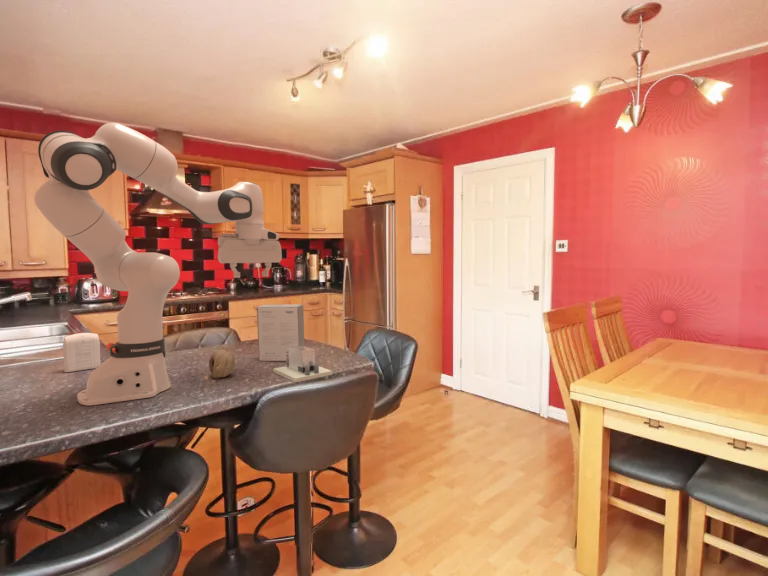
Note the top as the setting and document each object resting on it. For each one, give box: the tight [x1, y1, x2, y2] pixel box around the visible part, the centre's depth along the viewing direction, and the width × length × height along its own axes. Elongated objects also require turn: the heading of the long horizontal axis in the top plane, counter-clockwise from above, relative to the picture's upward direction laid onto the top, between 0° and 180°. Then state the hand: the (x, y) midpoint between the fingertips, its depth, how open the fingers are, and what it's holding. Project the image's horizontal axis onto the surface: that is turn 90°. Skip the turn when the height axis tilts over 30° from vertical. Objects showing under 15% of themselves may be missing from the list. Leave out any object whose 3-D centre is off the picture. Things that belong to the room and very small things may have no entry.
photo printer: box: [62, 332, 102, 373], centre depth 145 cm, size 10×4×12 cm, turn 135°
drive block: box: [289, 345, 316, 374], centre depth 139 cm, size 5×9×7 cm, turn 40°
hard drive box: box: [256, 304, 305, 362], centre depth 159 cm, size 16×8×20 cm, turn 84°
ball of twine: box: [208, 346, 236, 379], centre depth 137 cm, size 9×8×10 cm
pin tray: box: [272, 358, 333, 383], centre depth 139 cm, size 13×15×4 cm
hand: (251, 277), depth 140 cm, fingers open, 8 cm apart
